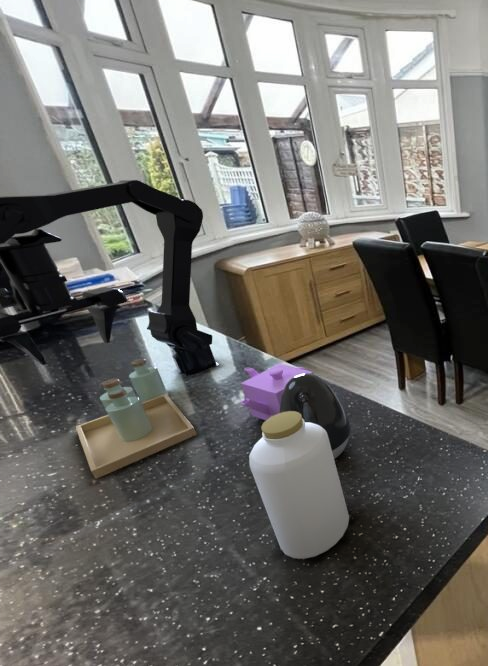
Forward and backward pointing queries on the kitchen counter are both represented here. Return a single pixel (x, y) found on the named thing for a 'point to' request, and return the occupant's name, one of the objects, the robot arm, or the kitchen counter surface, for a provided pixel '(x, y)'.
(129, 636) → the kitchen counter surface
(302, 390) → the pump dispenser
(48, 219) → the robot arm
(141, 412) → the row bottle
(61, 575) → the kitchen counter surface
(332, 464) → the white jar with lid
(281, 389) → the teapot
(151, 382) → the loose bottle
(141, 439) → the tray
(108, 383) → the row bottle
